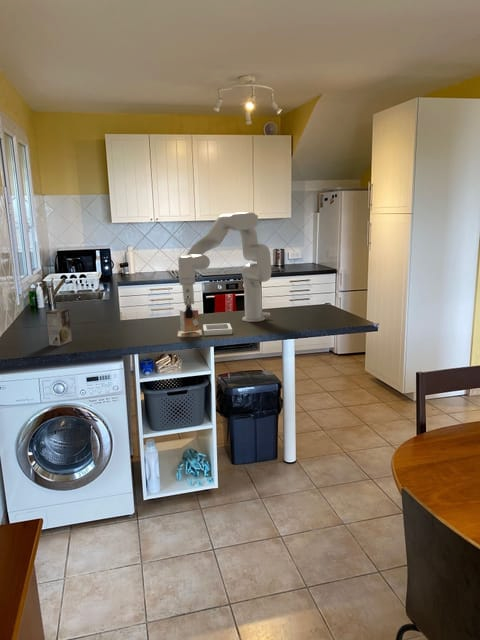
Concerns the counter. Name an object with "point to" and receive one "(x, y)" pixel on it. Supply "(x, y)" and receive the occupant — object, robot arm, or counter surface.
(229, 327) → the square frame
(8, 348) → the counter surface
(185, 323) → the small box
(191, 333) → the cork pad
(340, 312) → the counter surface
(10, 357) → the counter surface
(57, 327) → the coffee box
